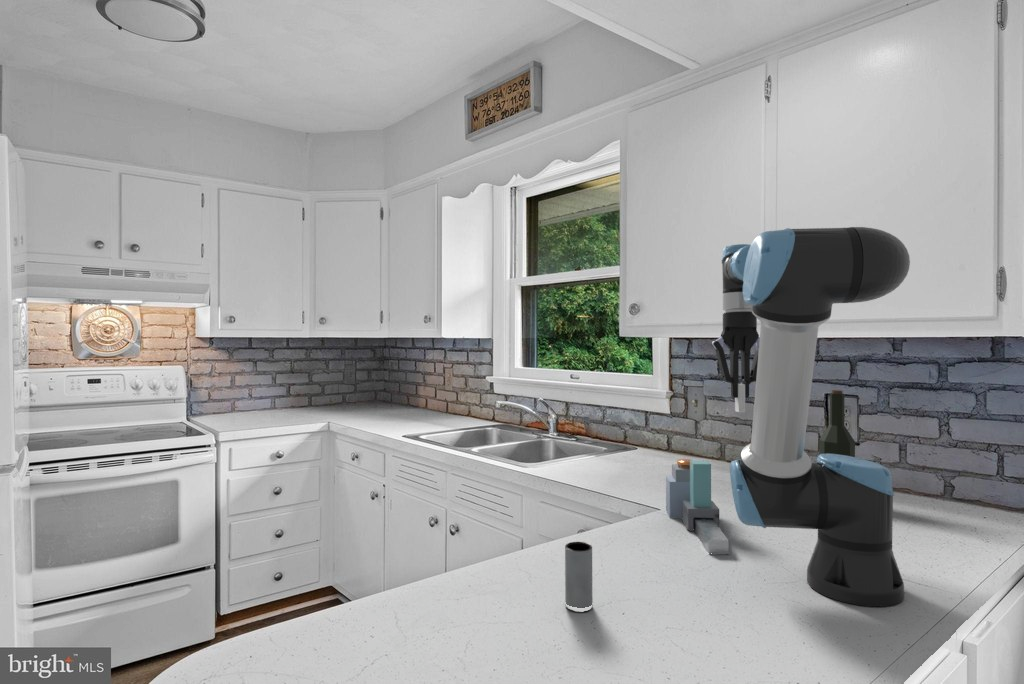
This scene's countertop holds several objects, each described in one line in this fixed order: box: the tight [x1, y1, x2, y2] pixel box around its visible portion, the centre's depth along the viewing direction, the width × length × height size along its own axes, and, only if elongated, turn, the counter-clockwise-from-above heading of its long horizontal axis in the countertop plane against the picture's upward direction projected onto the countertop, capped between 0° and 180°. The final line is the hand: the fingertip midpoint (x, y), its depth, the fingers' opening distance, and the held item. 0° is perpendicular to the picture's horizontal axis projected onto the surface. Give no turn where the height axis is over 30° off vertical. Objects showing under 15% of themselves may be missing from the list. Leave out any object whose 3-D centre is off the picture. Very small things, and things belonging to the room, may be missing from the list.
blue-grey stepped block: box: [665, 463, 690, 519], centre depth 153 cm, size 6×9×12 cm, turn 85°
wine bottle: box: [818, 389, 856, 457], centre depth 161 cm, size 8×8×30 cm
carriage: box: [682, 459, 720, 531], centre depth 143 cm, size 7×7×15 cm
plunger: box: [676, 458, 691, 469], centre depth 153 cm, size 4×4×8 cm
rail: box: [693, 518, 730, 555], centre depth 137 cm, size 23×4×3 cm, turn 175°
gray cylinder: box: [564, 541, 594, 608], centre depth 102 cm, size 4×4×10 cm
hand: (740, 411), depth 143 cm, fingers closed
